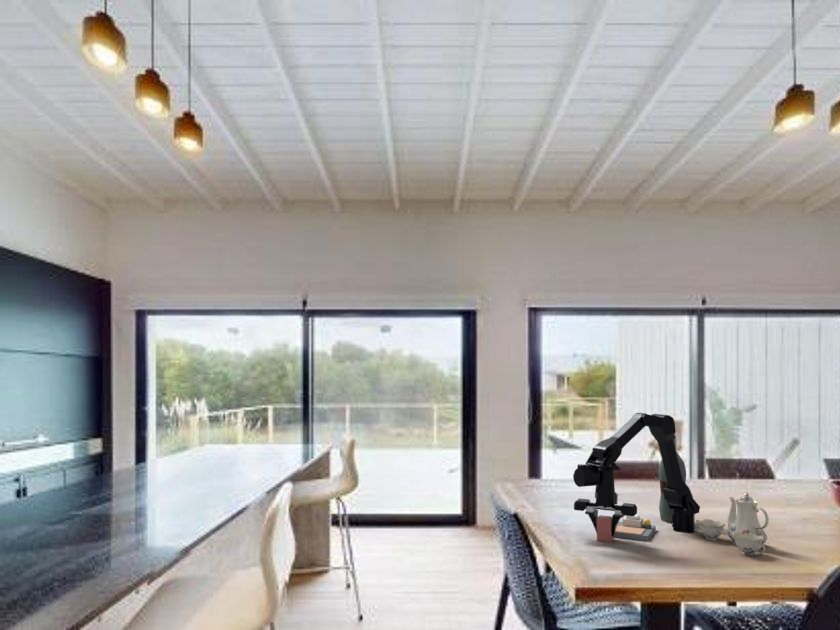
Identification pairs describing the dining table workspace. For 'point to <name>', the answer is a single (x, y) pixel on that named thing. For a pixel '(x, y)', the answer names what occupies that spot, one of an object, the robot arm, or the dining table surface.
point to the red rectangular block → (604, 528)
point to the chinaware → (740, 526)
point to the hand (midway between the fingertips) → (605, 534)
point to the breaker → (633, 517)
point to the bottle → (664, 507)
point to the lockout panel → (635, 529)
